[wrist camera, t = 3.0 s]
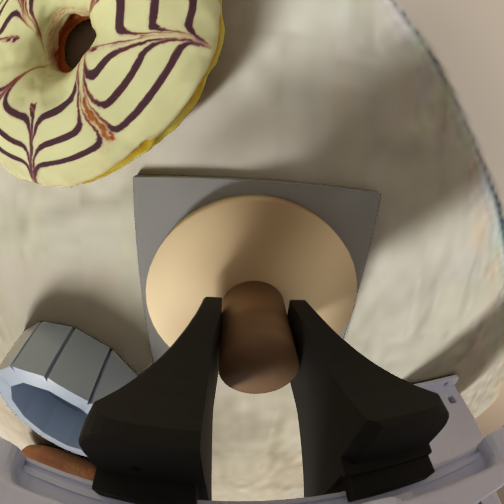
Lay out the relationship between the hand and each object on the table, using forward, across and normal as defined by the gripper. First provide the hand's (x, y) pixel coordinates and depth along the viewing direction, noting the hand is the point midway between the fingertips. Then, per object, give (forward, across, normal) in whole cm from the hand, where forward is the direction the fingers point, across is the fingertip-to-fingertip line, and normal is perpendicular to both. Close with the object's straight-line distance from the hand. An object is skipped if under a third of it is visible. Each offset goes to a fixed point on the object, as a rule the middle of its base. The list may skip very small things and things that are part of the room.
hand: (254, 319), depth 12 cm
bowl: (+2, +11, +8) cm, 14 cm away
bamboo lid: (+2, 0, 0) cm, 2 cm away
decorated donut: (+3, +7, -11) cm, 13 cm away
